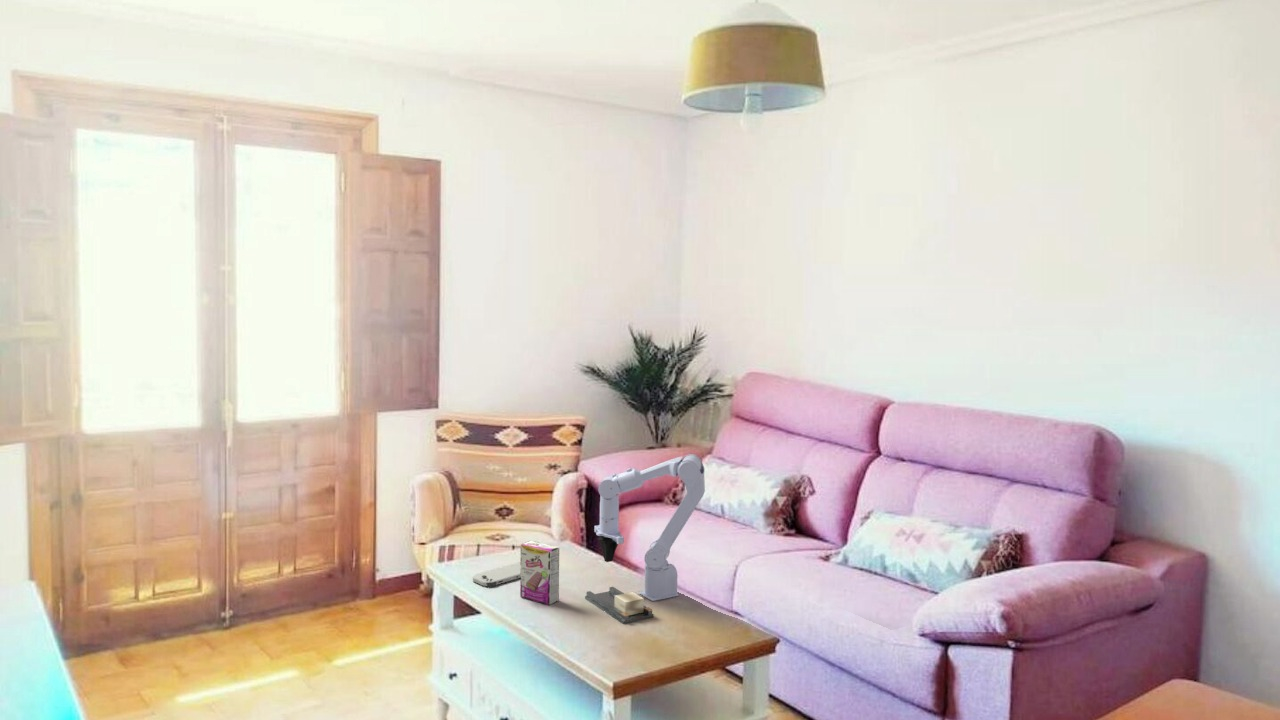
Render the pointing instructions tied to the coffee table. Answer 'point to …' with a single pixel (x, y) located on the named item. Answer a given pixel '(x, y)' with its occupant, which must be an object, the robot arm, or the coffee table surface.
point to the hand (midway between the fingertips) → (608, 561)
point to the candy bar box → (539, 572)
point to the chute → (607, 604)
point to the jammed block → (629, 603)
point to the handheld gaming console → (498, 575)
